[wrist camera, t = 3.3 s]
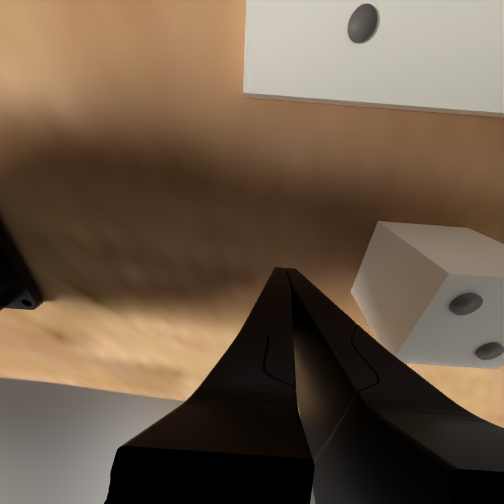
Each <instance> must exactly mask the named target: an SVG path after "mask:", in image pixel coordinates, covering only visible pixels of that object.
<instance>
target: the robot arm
mask: <svg viewBox="0 0 504 504" xmlns="http://www.w3.org/2000/svg"><path fill="white" fill-rule="evenodd" d="M42 303H43V298H42V297H41V295H40V293H39V291H38V290H37V288H36V286H35V284H34V282H33V281H32V279H31V277H30V275H29V274H28V272H27V270H26V268H25V267H24V265H23V263H22V261H21V260H20V258H19V256H18V254H17V252H16V251H15V249H14V247H13V245H12V244H11V242H10V240H9V238H8V237H7V235H6V233H5V231H4V229H3V228H2V226H1V224H0V311H1V310H2V309H4V308H12V309H27V310H34V309H36V308H37V307H38V306H40V305H41V304H42ZM297 402H298V404H297ZM298 407H299V411H298ZM299 413H300V415H299ZM300 418H301V419H300ZM312 486H313V491H314V496H315V503H316V504H504V428H502V427H500V426H497V425H495V424H492V423H490V422H488V421H486V420H484V419H482V418H479V417H478V416H476V415H474V414H472V413H470V412H469V411H467V410H465V409H464V408H462V407H461V406H459V405H458V404H456V403H455V402H454V401H452V400H451V399H450V398H448V397H447V396H446V395H444V394H443V393H442V392H440V391H439V390H438V389H437V388H435V387H434V386H433V385H431V384H430V383H429V382H428V381H426V380H425V379H424V378H422V377H421V376H420V375H419V374H417V373H416V372H415V371H413V370H412V369H411V368H410V367H408V366H407V365H406V364H404V363H403V362H402V361H401V360H399V359H398V358H397V357H396V356H394V355H393V354H392V353H391V352H389V351H388V350H387V349H386V348H384V347H383V346H382V345H381V344H379V343H378V342H377V341H376V340H375V339H374V338H373V337H371V336H370V335H369V334H368V333H367V332H366V331H364V330H363V329H362V328H361V327H360V326H359V325H358V324H356V323H355V322H354V321H353V320H352V319H351V318H350V317H349V316H348V315H347V314H345V313H344V312H343V311H342V310H341V309H340V308H339V307H338V306H337V305H335V304H334V303H333V302H332V301H331V300H330V299H329V298H328V297H327V296H325V295H324V294H323V293H322V292H321V291H320V290H319V289H318V288H317V287H315V286H314V285H313V284H312V283H311V282H310V281H309V280H308V279H307V278H305V277H304V276H303V275H302V274H301V273H300V272H299V271H298V270H297V269H294V268H286V269H285V268H280V267H275V268H274V270H273V271H272V273H271V275H270V277H269V279H268V281H267V283H266V284H265V286H264V288H263V290H262V292H261V294H260V296H259V298H258V299H257V301H256V303H255V305H254V307H253V309H252V311H251V312H250V314H249V317H248V318H247V320H246V322H245V323H244V325H243V327H242V329H241V330H240V332H239V334H238V335H237V337H236V338H235V340H234V341H233V343H232V344H231V345H230V347H229V348H228V350H227V351H226V352H225V353H224V355H223V356H222V357H221V359H220V360H219V361H218V363H217V364H216V365H215V367H214V368H213V369H212V371H211V372H210V373H209V375H208V376H207V377H206V378H205V380H204V381H203V382H202V384H201V385H200V386H199V387H198V389H197V390H196V391H195V392H194V393H193V394H192V395H191V396H190V397H189V398H188V399H187V400H186V401H185V402H184V403H183V404H181V405H180V406H179V407H177V408H176V409H174V410H173V411H172V412H170V413H169V414H167V415H166V416H164V417H163V418H161V419H160V420H158V421H157V422H155V423H154V424H152V425H151V426H150V427H148V428H147V429H145V430H144V431H143V432H141V433H139V434H138V435H136V436H135V437H134V438H132V439H131V440H129V441H128V442H126V443H125V444H123V445H122V446H120V447H119V448H118V449H117V452H116V455H115V458H114V462H113V465H112V469H111V473H110V485H109V492H108V495H107V500H106V501H105V503H104V504H310V499H311V491H312Z"/></svg>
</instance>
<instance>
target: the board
mask: <svg viewBox="0 0 504 504" xmlns="http://www.w3.org/2000/svg"><path fill="white" fill-rule="evenodd" d="M243 93H244V96H245V98H257V99H270V100H283V101H296V102H309V103H322V104H335V105H347V106H360V107H373V108H386V109H399V110H412V111H424V112H437V113H450V114H463V115H476V116H489V117H502V118H504V0H247V2H246V30H245V57H244V85H243Z"/></svg>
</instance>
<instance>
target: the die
mask: <svg viewBox="0 0 504 504" xmlns="http://www.w3.org/2000/svg"><path fill="white" fill-rule="evenodd" d="M350 292H351V294H352V296H353V297H354V299H355V301H356V302H357V304H358V306H359V308H360V309H361V311H362V313H363V314H364V316H365V318H366V320H367V321H368V323H369V325H370V327H371V328H372V330H373V332H374V333H375V335H376V337H377V339H378V340H379V342H380V344H381V345H382V346H383V347H384V348H386V349H387V350H388V351H389V352H391V353H392V354H393V355H394V356H396V357H397V358H398V359H399V360H401V361H402V362H403V363H412V364H428V365H443V366H458V367H473V368H488V369H499V368H500V367H501V366H502V365H503V364H504V244H503V243H501V242H498V241H496V240H494V239H492V238H490V237H487V236H485V235H483V234H481V233H479V232H476V231H474V230H472V229H470V228H464V227H450V226H437V225H424V224H411V223H398V222H384V221H378V222H377V225H376V227H375V230H374V232H373V235H372V237H371V240H370V243H369V245H368V248H367V250H366V253H365V255H364V258H363V261H362V263H361V266H360V268H359V271H358V273H357V276H356V278H355V281H354V284H353V286H352V289H351V291H350Z"/></svg>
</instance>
